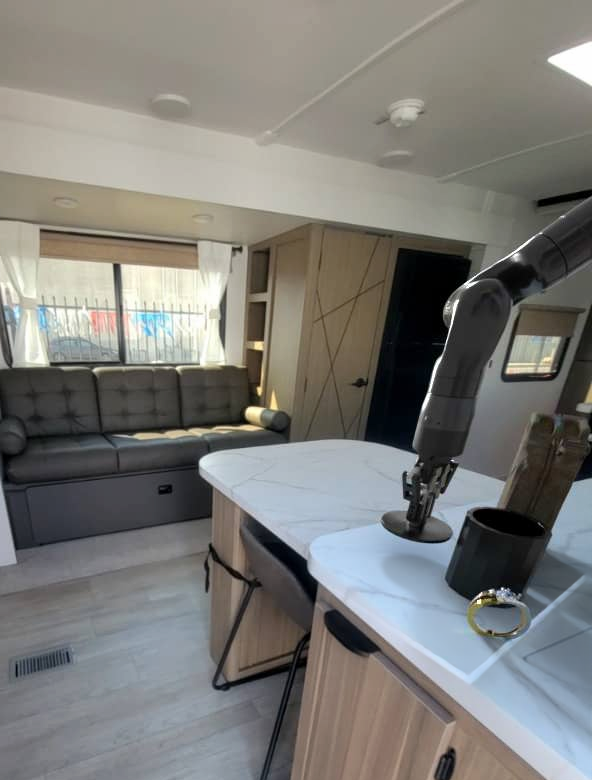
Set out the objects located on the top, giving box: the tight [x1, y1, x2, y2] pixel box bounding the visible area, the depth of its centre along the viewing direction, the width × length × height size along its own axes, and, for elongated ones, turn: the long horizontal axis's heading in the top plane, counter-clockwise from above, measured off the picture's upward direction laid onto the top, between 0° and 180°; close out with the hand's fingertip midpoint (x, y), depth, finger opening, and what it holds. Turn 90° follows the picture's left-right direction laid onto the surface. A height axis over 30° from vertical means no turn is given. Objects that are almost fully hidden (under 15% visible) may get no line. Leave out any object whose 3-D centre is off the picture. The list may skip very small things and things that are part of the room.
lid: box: [380, 491, 454, 545], centre depth 72 cm, size 12×12×7 cm
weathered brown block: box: [495, 411, 592, 531], centre depth 72 cm, size 19×8×25 cm, turn 143°
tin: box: [444, 506, 553, 610], centre depth 63 cm, size 11×11×12 cm
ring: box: [466, 587, 532, 642], centre depth 54 cm, size 7×3×8 cm, turn 62°
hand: (417, 518), depth 72 cm, fingers closed on lid, 3 cm apart
